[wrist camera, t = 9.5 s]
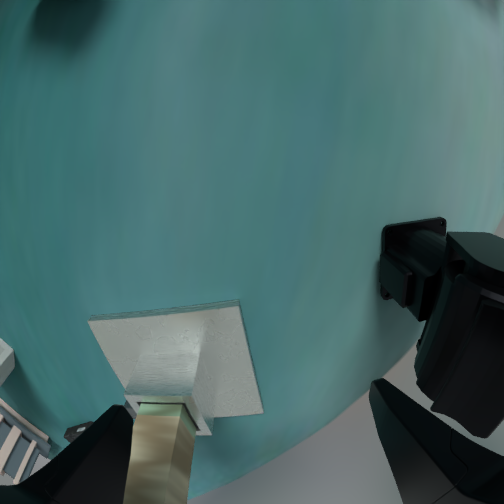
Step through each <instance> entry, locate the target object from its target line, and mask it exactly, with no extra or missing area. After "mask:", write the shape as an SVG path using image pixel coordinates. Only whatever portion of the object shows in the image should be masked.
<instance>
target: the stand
mask: <svg viewBox="0 0 504 504" xmlns="http://www.w3.org/2000/svg"><path fill="white" fill-rule="evenodd" d="M88 323H89V325H90V327H91V329H92V331H93V333H94V335H95V337H96V339H97V341H98V343H99V345H100V347H101V349H102V351H103V352H104V354H105V356H106V358H107V360H108V361H109V363H110V365H111V367H112V368H113V370H114V372H115V373H116V375H117V377H118V378H119V380H120V382H121V383H122V385H123V386H124V388H125V392H124V396H125V398H126V399H127V400H126V402H125V405H124V407H125V408H126V409H127V411H128V412H129V413H130V415H131V416H132V418H133V419H136V417H137V414H138V411H139V408H140V405H141V404H182V405H183V407H184V408H185V410H186V412H187V414H188V415H189V417H190V419H191V421H192V422H193V424H194V426H195V427H196V435H212V433H213V422H214V417H229V416H242V415H253V414H262V413H264V410H263V403H262V399H261V395H260V391H259V386H258V382H257V378H256V374H255V369H254V365H253V361H252V356H251V352H250V348H249V343H248V339H247V334H246V330H245V325H244V321H243V316H242V312H241V307H240V302H239V299H238V300H231V301H224V302H216V303H208V304H201V305H192V306H184V307H176V308H167V309H157V310H148V311H137V312H127V313H115V314H103V315H92V316H91V317H90V319H89V320H88Z"/></svg>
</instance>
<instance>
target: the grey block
mask: <svg viewBox="0 0 504 504" xmlns="http://www.w3.org/2000/svg"><path fill="white" fill-rule="evenodd" d="M14 368H15V360H14V350H13V349H12V348H11V347H10V346H9V345H7V344H6V343H5V342H4V341H3V340H2V339H1V338H0V386H1V385H2V384H3V382H4V381H5V380H6V378H7V377H8V376H9V374H10V373H11V372H12V370H13V369H14Z"/></svg>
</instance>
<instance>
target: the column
mask: <svg viewBox="0 0 504 504" xmlns="http://www.w3.org/2000/svg"><path fill="white" fill-rule="evenodd" d="M195 435H196V427H195V426H194V424H193V422H192V421H191V419H190V417H189V415H188V414H187V412H186V410H185V408H184V407H183V405H182V404H141V405H140V408H139V411H138V414H137V417H136V420H135V423H134V426H133V434H132V447H131V456H130V462H129V468H128V474H127V480H126V487H125V493H124V501H123V504H187V497H188V488H189V480H190V472H191V464H192V456H193V449H194V442H195Z"/></svg>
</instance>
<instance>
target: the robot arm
mask: <svg viewBox="0 0 504 504" xmlns="http://www.w3.org/2000/svg"><path fill="white" fill-rule="evenodd" d="M441 222H442V224H441ZM440 224H441V225H440ZM388 230H391V231H390V233H389V234H388V233H387V232H388ZM380 283H381V297H382V298H383V299H384V300H389V299H393V298H394V299H395V300H396V301H397V302H398V304H399V305H400V306H401V307H402V308H405V307H407V308H408V309H409V311H410V312H411V313H412V314H413V315H414V316H415V317H416V319H417V320H418V321H419V322H421V321H424V320H426V323H425V326H424V329H423V332H422V335H421V338H420V339H419V340H418V342H417V345H416V347H417V355H416V358H415V365H414V368H415V372H416V376H417V381H416V384H417V385H418V387H419V388H420V390H421V391H422V392H423V393H424V394H425V395H426V396H427V397H428V398H429V399H431V400H432V401H434V403H433V405H432V406H431V408H430V409H431V411H433V412H437V413H441V414H444V415H446V416H448V417H451V418H452V419H454V420H456V421H457V422H458V423H460V424H461V425H462V426H463V427H464V428H465V429H466V430H467V431H468V432H470V433H471V434H472V435H473V436H477V437H481V438H488V437H489V436H490V435H491V434H492V432H493V431H494V430H495V429H496V428H497V427H498V426H499V424H500V423H501V422H502V421H503V420H504V239H503V238H501V237H498V236H496V235H493V234H491V233H485V232H447V234H446V220H445V219H444V218H442V217H437V218H430V219H423V220H417V221H410V222H403V223H397V224H390V225H386V226H385V227H384V228H383V232H382V253H381V255H380ZM387 292H388V294H387V295H385V294H386V293H387ZM369 401H370V405H371V409H372V412H373V416H374V420H375V424H376V428H377V432H378V436H379V438H380V441H381V444H382V446H383V448H384V451H385V454H386V457H387V459H388V462H389V465H390V467H391V470H392V473H393V476H394V478H395V481H396V484H397V486H398V490H399V492H400V495H401V498H402V501H403V504H504V456H501V455H499V454H497V453H495V452H493V451H490V450H489V449H487V448H485V447H482V446H481V445H479V444H477V443H475V442H473V441H471V440H470V439H468V438H466V437H465V436H463V435H462V434H460V433H459V432H457V431H456V430H454V429H453V428H452V429H451V427H450V426H449V425H447V424H446V423H444V422H443V421H442V420H440V419H439V418H437V417H436V416H435V415H433V414H432V413H431V412H429V411H428V410H426V409H425V408H423V407H422V406H421V405H419V404H418V403H417V402H415V401H414V400H413V399H411V398H410V397H408V396H407V395H406V394H404V393H403V392H402V391H400V390H399V389H398V388H396V387H395V386H394V385H392V384H391V383H390V382H388V381H387V380H385V379H384V378H380V379H377V380H373V381H372V383H371V387H370V392H369ZM132 434H133V418H132V416H131V415H130V413H129V412H128V411H127V409H126V408H125V407H124V406H123V405H116V404H115V405H112V406H111V407H110V408H109V409H108V410H107V411H106V412H105V413H104V414H102V415H101V416H100V417H99V418H98V419H97V420H96V421H95V422H94V423H93V424H91V425H90V426H89V427H88V428H87V429H86V430H85V431H84V432H83V433H82V434H80V435H79V436H78V437H77V438H76V439H75V440H74V441H73V442H72V443H70V444H69V445H68V446H67V447H66V448H65V449H64V450H63V451H61V452H60V453H59V454H58V455H57V456H56V457H55V458H53V459H52V460H51V461H50V462H49V463H48V464H46V465H45V466H44V467H43V468H41V469H40V470H38V471H37V472H36V473H34V474H33V475H31V476H30V477H28V478H27V479H25V480H24V481H22V482H21V483H19V484H16V485H10V486H6V485H0V504H123V501H124V493H125V487H126V480H127V474H128V468H129V462H130V456H131V447H132Z"/></svg>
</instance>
